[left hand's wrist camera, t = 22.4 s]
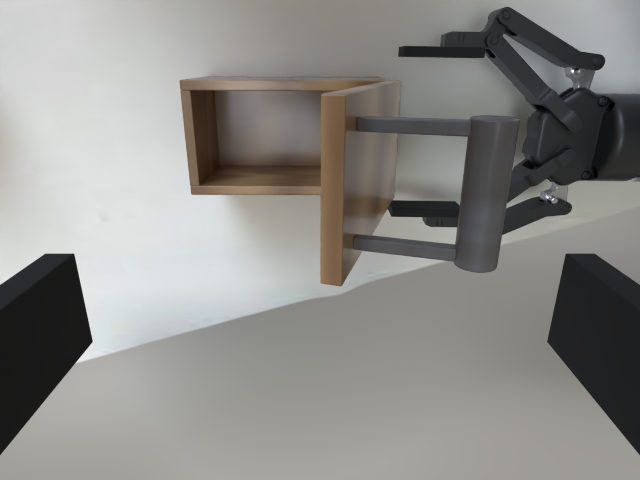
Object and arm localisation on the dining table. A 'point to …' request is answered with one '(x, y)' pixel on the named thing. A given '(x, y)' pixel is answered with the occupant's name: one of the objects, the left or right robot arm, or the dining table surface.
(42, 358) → the left robot arm
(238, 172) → the chest
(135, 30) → the dining table surface
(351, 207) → the lid
